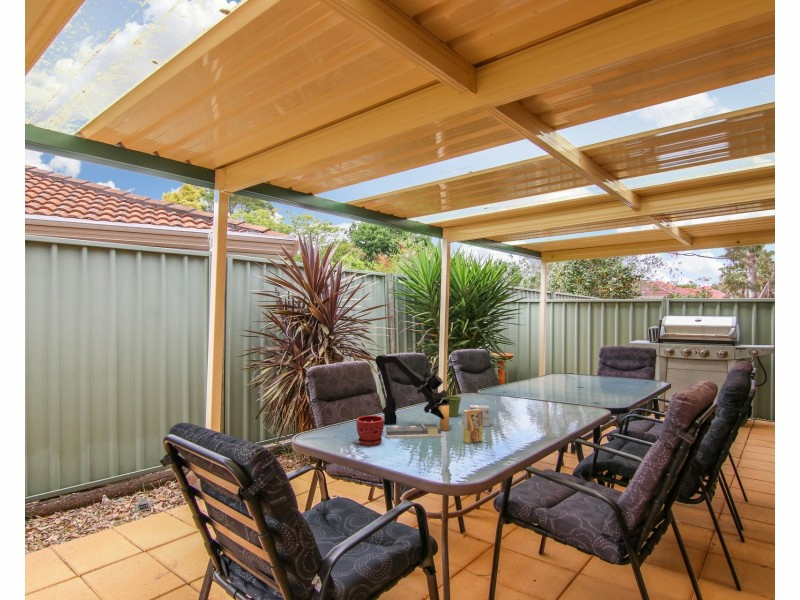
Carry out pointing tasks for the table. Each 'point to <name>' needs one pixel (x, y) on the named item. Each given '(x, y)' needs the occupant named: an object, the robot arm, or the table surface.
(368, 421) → the plant pot
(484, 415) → the light bulb box
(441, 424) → the cap
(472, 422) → the candy box
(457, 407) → the plant pot
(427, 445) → the table surface
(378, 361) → the robot arm
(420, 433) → the breaker panel
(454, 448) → the table surface
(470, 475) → the table surface
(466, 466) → the table surface
